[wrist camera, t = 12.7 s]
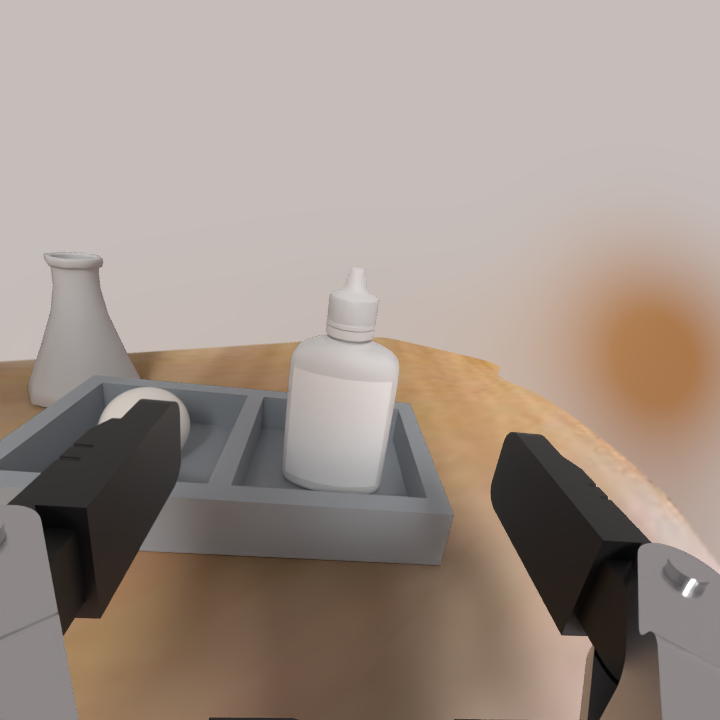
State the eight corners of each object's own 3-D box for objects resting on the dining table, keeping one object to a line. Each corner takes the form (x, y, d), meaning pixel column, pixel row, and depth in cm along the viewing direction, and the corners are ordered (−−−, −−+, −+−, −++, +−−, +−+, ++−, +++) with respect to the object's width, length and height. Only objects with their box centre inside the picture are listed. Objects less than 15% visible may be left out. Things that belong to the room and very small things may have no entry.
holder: (-45, 541, 17) (-61, 482, 16) (98, 415, 27) (94, 374, 26) (440, 565, 19) (453, 514, 18) (403, 440, 29) (410, 403, 28)
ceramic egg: (83, 485, 20) (73, 406, 19) (125, 437, 24) (120, 370, 23) (174, 490, 21) (172, 414, 19) (201, 443, 25) (200, 378, 23)
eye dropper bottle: (349, 520, 20) (385, 282, 16) (269, 472, 23) (282, 258, 19) (392, 480, 24) (430, 276, 20) (318, 443, 26) (338, 256, 22)
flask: (110, 365, 35) (99, 246, 31) (163, 392, 32) (158, 263, 28) (6, 390, 29) (-21, 247, 25) (59, 426, 26) (37, 267, 22)
